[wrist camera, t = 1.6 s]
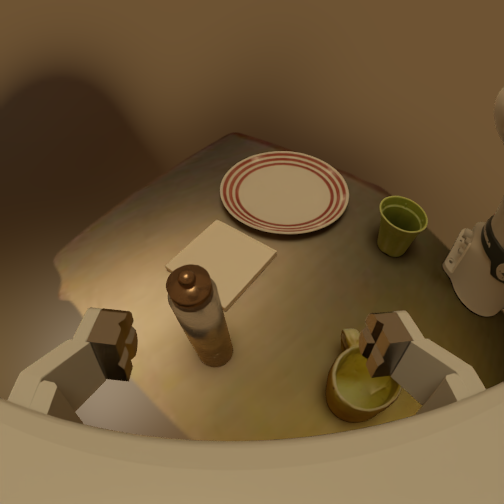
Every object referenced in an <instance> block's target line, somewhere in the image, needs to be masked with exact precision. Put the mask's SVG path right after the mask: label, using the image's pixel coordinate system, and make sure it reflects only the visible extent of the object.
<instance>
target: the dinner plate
mask: <svg viewBox="0 0 504 504" xmlns="http://www.w3.org/2000/svg"><path fill="white" fill-rule="evenodd" d="M220 195H221V199H222V202H223V204H224V206H225V208H226V209H227V210H228V212H229V213H230V214H231V215H232V216H233V217H234V218H236V219H237V220H239V221H240V222H242V223H244V224H245V225H248V226H250V227H252V228H255V229H257V230H261V231H264V232H269V233H275V234H302V233H308V232H313V231H316V230H319V229H322V228H324V227H326V226H328V225H330V224H332V223H333V222H335V221H336V220H337V219H338V218H339V217H340V216H341V215H342V214H343V212H344V211H345V209H346V207H347V205H348V201H349V191H348V187H347V184H346V182H345V180H344V179H343V177H342V176H341V175H340V173H339V172H338V171H336V170H335V169H334V168H333V167H332V166H330V165H329V164H327V163H325V162H324V161H322V160H320V159H318V158H315V157H312V156H310V155H306V154H302V153H297V152H288V151H276V152H267V153H262V154H257V155H254V156H251V157H248V158H246V159H244V160H242V161H240V162H239V163H237V164H236V165H234V166H233V167H232V168H231V169H230V170H229V171H228V172H227V173H226V174H225V176H224V178H223V180H222V182H221V186H220Z"/></svg>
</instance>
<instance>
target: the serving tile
mask: <svg viewBox="0 0 504 504" xmlns="http://www.w3.org/2000/svg"><path fill="white" fill-rule="evenodd" d="M276 256H277V251H276V250H274V249H272V248H270V247H268V246H266V245H264V244H263V243H261V242H259V241H257V240H255V239H253V238H251V237H249V236H247V235H246V234H244V233H242V232H240V231H238V230H236V229H234V228H232V227H230V226H229V225H227V224H225V223H223V222H221V221H219V220H216V221H215V222H214V223H212V224H211V225H210V226H209V227H208V228H207V229H206V230H204V231H203V232H202V233H201V234H200V235H199V236H198V237H196V238H195V239H194V240H193V241H192V242H191V243H190V244H189V245H187V246H186V247H185V248H184V249H183V250H182V251H181V252H180V253H179V254H177V255H176V256H175V257H174V258H173V259H172V260H171V261H170V262H169V263H168V264H166V265H165V267H166V269H167V270H168V271H169V272H170V273H172V272H173V271H174V270H175V269H177V268H179V267H181V266H184V265H189V264H194V265H199V266H201V267H203V268H204V269H206V270H207V272H208V273H209V275H210V278H211V279H212V280H213V281H214V282H215V284H216V286H217V290H218V294H219V297H220V301H221V305H222V309H223V310H224V311H225V312H226V311H227V310H228V309H229V308H230V307H231V306H232V305H233V303H234V302H235V301H236V300H237V299H238V298H239V297H240V296H241V295H242V293H243V292H244V291H245V290H246V289H247V288H248V287H249V286H250V285H251V284H252V282H253V281H254V280H255V279H256V278H257V277H258V276H259V275H260V273H261V272H262V271H263V270H264V269H265V268H266V267H267V266H268V265H269V263H270V262H271V261H272V260H273V259H274V258H275V257H276Z"/></svg>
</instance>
